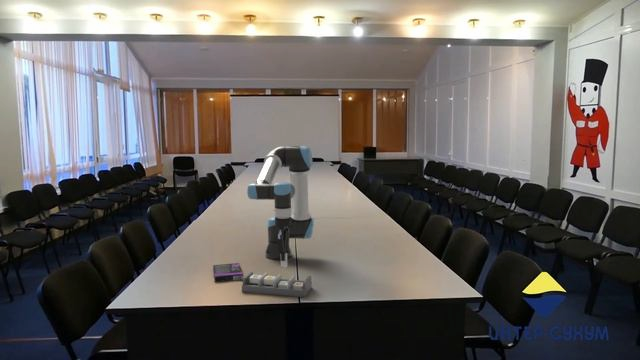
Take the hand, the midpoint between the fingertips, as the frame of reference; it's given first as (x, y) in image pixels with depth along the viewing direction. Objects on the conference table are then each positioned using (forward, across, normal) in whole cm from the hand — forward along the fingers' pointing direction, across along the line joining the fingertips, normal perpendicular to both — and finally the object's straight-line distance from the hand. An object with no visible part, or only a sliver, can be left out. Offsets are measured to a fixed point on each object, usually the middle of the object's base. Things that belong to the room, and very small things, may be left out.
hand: (284, 266), depth 204 cm
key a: (+10, 0, 0) cm, 10 cm away
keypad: (+11, 0, -3) cm, 12 cm away
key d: (+8, 0, -7) cm, 11 cm away
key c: (+10, 0, +7) cm, 12 cm away
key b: (+8, 0, -14) cm, 16 cm away
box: (+12, -14, -35) cm, 40 cm away
